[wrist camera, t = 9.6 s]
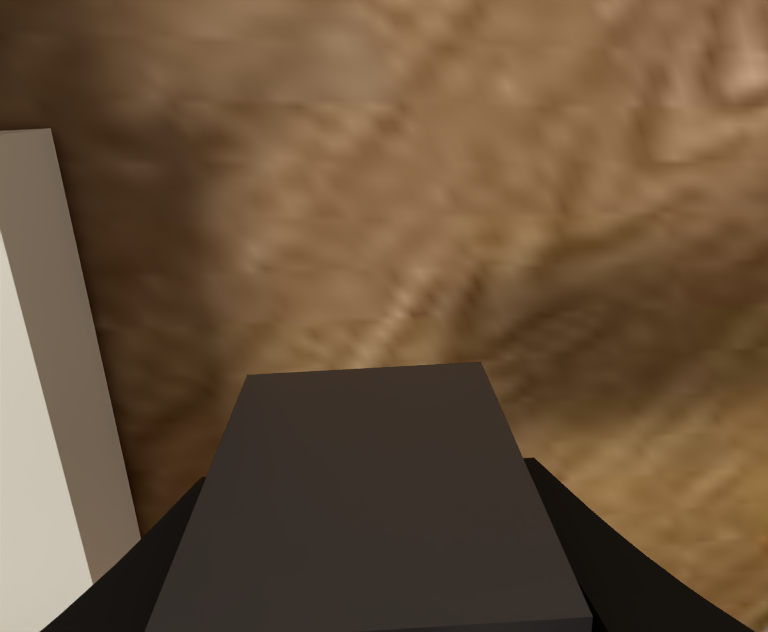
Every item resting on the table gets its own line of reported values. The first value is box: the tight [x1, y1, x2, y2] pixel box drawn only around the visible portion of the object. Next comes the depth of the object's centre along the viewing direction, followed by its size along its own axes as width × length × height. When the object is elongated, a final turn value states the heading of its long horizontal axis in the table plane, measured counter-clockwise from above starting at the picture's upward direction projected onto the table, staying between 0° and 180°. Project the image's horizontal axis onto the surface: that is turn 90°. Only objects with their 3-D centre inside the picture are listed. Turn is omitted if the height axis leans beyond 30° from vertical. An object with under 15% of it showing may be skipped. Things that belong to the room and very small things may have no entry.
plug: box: [145, 362, 593, 632], centre depth 8 cm, size 4×4×7 cm
